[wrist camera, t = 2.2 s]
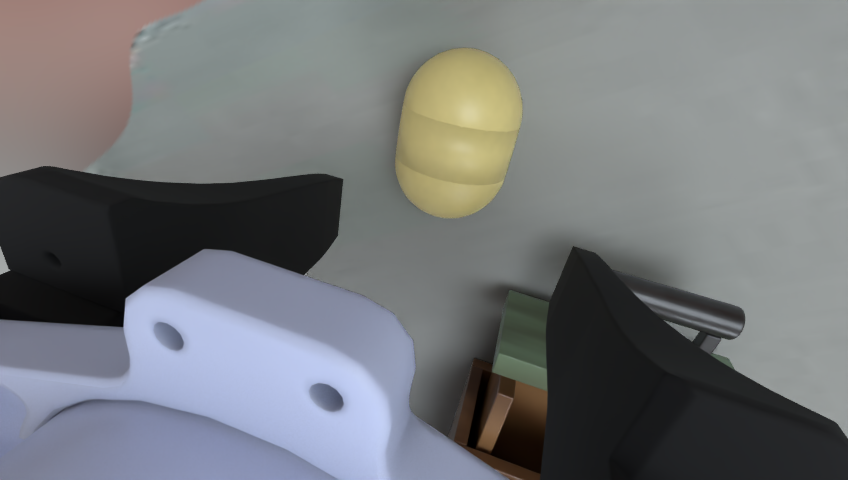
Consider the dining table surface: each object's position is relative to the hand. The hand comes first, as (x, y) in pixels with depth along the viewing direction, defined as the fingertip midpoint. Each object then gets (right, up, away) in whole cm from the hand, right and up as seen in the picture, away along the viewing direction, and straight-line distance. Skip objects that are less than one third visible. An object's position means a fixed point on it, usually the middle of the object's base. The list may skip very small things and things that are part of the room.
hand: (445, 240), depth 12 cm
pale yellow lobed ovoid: (+1, +6, +8) cm, 9 cm away
